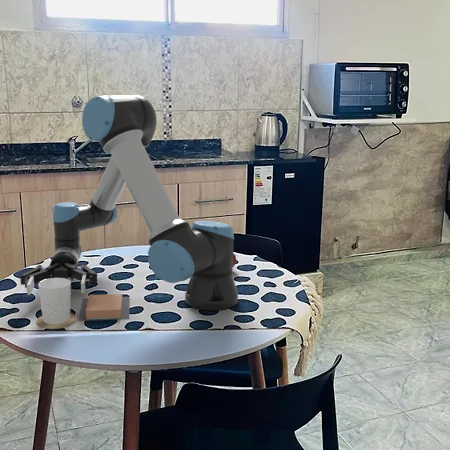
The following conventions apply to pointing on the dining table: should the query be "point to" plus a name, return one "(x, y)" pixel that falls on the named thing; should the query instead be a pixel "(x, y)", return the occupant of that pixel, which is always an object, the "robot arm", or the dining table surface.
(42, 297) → the white cup
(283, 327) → the dining table surface
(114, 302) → the tile
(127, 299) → the mat
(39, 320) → the coaster
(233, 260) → the onion
